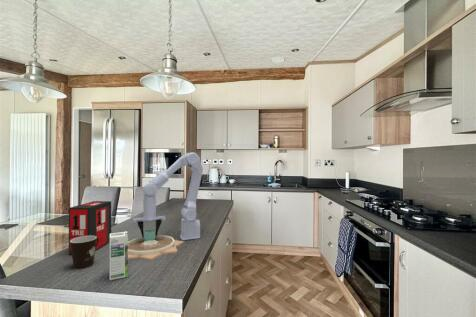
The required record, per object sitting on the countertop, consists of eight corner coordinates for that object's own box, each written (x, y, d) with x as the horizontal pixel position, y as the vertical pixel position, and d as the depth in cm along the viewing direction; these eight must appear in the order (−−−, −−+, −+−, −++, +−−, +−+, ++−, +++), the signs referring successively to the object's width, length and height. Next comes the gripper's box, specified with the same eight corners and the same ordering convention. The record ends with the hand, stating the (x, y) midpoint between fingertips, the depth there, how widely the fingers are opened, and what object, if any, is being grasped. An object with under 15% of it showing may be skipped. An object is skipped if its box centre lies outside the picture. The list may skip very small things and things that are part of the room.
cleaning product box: (89, 255, 101) (89, 208, 101) (68, 254, 101) (68, 207, 102) (111, 241, 118) (111, 201, 118) (93, 241, 118) (93, 201, 118)
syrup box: (109, 281, 79) (109, 237, 79) (109, 273, 85) (109, 232, 85) (128, 277, 82) (128, 234, 82) (127, 270, 87) (127, 230, 87)
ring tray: (179, 234, 129) (179, 229, 130) (189, 254, 101) (189, 249, 101) (116, 241, 118) (116, 236, 118) (108, 267, 90) (108, 260, 90)
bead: (154, 239, 119) (154, 229, 119) (154, 242, 114) (154, 231, 114) (144, 240, 117) (144, 230, 117) (144, 243, 113) (144, 232, 113)
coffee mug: (76, 272, 85) (76, 244, 86) (65, 266, 90) (65, 240, 90) (108, 260, 95) (108, 235, 95) (97, 256, 100) (97, 232, 100)
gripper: (133, 211, 110) (133, 240, 109) (165, 208, 115) (165, 236, 115) (133, 208, 116) (133, 236, 116) (164, 206, 122) (164, 232, 121)
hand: (149, 236), depth 116 cm, fingers open, 5 cm apart
